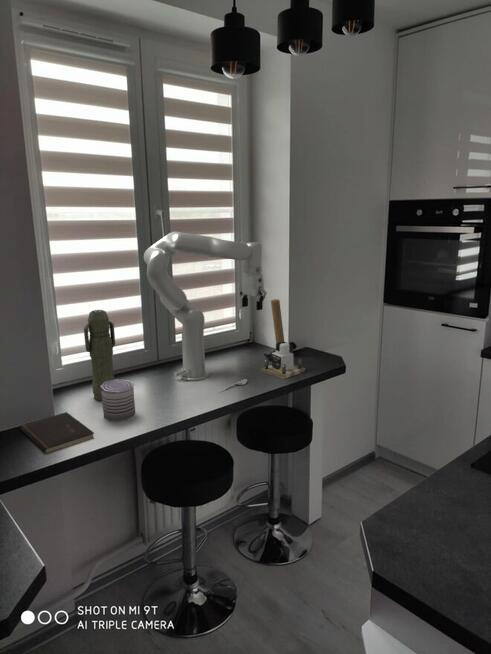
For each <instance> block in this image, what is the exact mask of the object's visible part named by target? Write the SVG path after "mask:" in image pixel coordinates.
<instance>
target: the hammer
mask: <svg viewBox="0 0 491 654" xmlns="http://www.w3.org/2000/svg"><path fill="white" fill-rule="evenodd" d="M270 307H271V314H272V320H273V327H274V336H275V337H274V338H275V345H276V344H277V343H278V342H285V335H284V325H283V317H282V312H281V311H282V309H281V303H280V299H278V298H276V299H272V300H270ZM288 343H289V352H290V353H292V354H294V350H296V349H297V344H296V343H295V342H293V341H290V342H288ZM274 352H276V349H275V350H273V351H271V352H269V353H268V354H267V353H263V355H264V357H265V358H266V359H267V360H271V361H272V353H274Z"/></svg>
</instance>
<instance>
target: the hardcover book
mask: <svg viewBox="0 0 491 654" xmlns="http://www.w3.org/2000/svg"><path fill="white" fill-rule="evenodd" d="M20 430H21V431H22V433H24V434H25V435H26V436H27V437H28V438H29V439H30V440H31V442H33V443H34V444H35V445H36V446H37V447H38V448H39V449H40V450H41V451H42V452H43V453H44V454H47V453H51V452H54V451H56V450H60V449H63V448H66V447H68V446H69V447H70V446H71V445H75V444H78V443H81V442H85V441H87V440H91V439H93V438H94V435H95V432H94V431H93V430H91V429H89V427H87V426H86V425H84V424H83V423H82V422H81V421H79V420H78V419H76V418H75V417H74V416H72V415H71V414H70V413H68V412H67V411H66V412H62V413H59V414H56V415H52V416H48V417H45V418H41V419H37V420H35V421H30V422H27V423H24V424H21V425H20Z"/></svg>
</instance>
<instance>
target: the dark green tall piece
mask: <svg viewBox="0 0 491 654" xmlns="http://www.w3.org/2000/svg"><path fill="white" fill-rule="evenodd" d="M83 335H84V336H83V337H84V345H85V351H86V352H87V353H89V357H90V360H91V368H92V370H91V371H92V385H91V386H92V393H93V399H94V400H95V401H97V402H102V392H101V389H102V388H101V387H100V386H101V385H102V384H103V383H104V382H105V381H110V380H115V379H116V377H115V375H114V363H113V355H114V350H113V348H114V347H115V346H116V337H115V336H116V335H115V325H114V323H113V322H112V321H111V320H110V321H109V315H108V313H107V311H106V310H104V309H95V310H92V311H90V312H89V314H88V318H87V323H86V324H85V326H84V328H83Z"/></svg>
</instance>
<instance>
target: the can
mask: <svg viewBox="0 0 491 654" xmlns="http://www.w3.org/2000/svg"><path fill="white" fill-rule="evenodd" d="M134 386H135V384H134V383H133V382H131V380H129V379H128V380H127V379H120V378H119V379H118V378H115V380H110V381H105V382H104V383H103V384H102V385H101V386H100V387H101V388H102V389H101V392H102V401H101V402H102V410H103V411H102V413H103V419H104V420H106V421H108V422H115V423H116V422H117V423H119V422H124V421H129V420H130V419H133V418H134V417H135V414H136V405H135V404H136V403H135V390H134Z"/></svg>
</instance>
